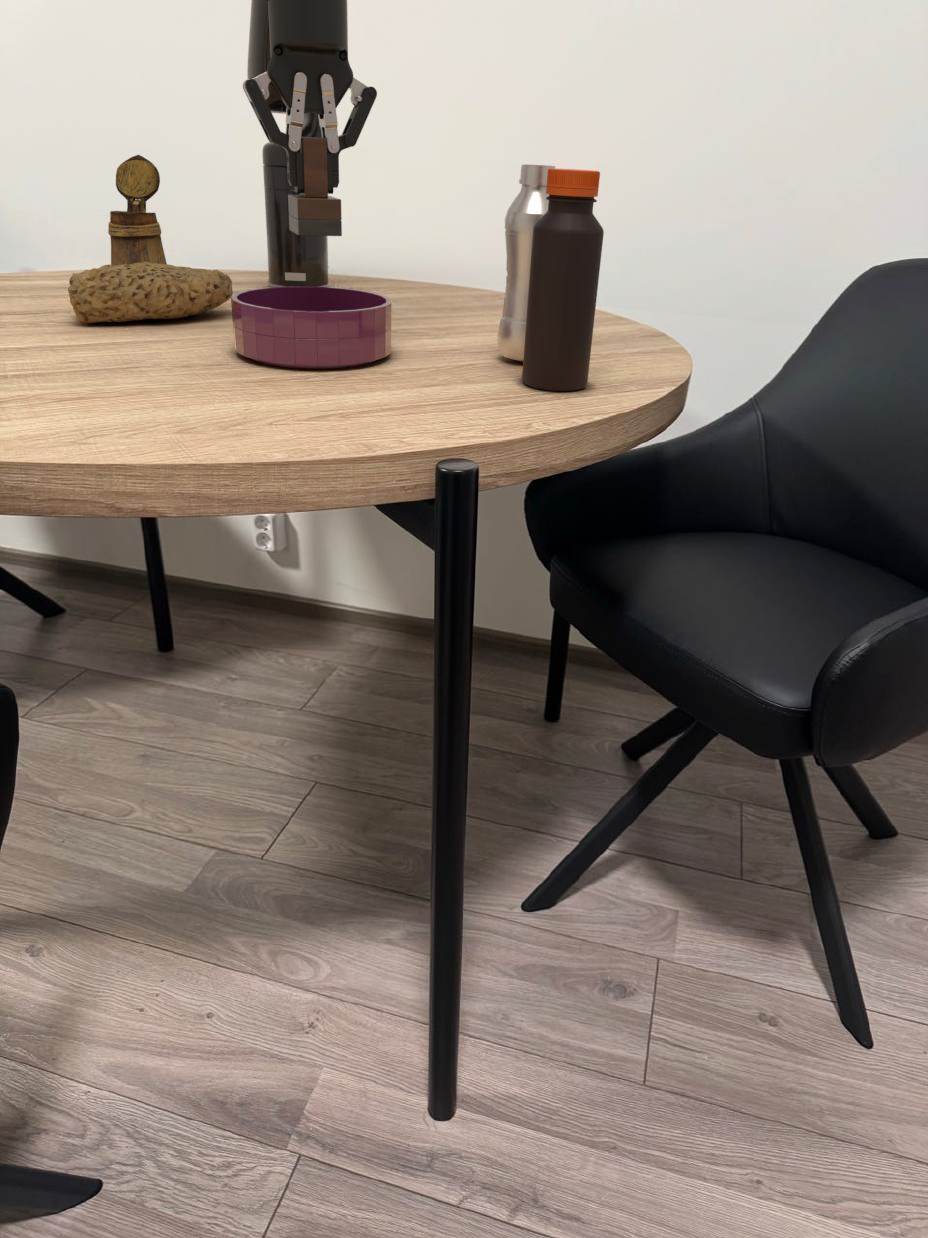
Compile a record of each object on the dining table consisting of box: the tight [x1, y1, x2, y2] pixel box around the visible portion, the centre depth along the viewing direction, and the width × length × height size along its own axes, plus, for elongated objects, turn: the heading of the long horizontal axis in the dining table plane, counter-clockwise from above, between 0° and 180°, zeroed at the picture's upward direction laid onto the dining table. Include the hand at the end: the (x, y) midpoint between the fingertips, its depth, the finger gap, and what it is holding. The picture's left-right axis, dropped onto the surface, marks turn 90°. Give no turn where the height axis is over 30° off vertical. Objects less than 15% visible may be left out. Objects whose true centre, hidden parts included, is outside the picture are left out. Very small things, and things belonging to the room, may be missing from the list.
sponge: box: [67, 262, 234, 324], centre depth 115 cm, size 13×8×20 cm
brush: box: [288, 137, 343, 237], centre depth 94 cm, size 6×4×9 cm
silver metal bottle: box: [496, 164, 556, 363], centre depth 99 cm, size 6×7×20 cm
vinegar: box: [521, 168, 605, 392], centre depth 90 cm, size 7×7×20 cm
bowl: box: [230, 286, 393, 370], centre depth 101 cm, size 17×17×6 cm
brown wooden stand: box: [107, 154, 168, 266], centre depth 128 cm, size 9×14×18 cm, turn 8°
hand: (313, 191), depth 95 cm, fingers closed on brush, 2 cm apart
